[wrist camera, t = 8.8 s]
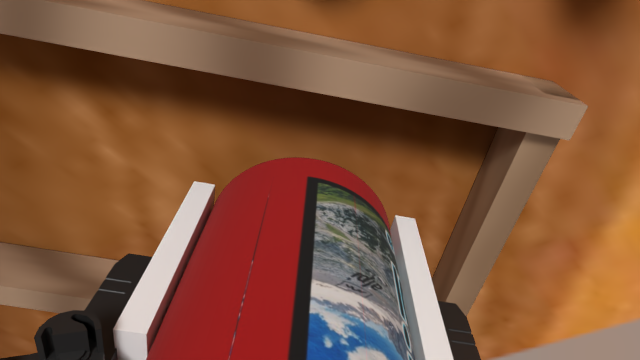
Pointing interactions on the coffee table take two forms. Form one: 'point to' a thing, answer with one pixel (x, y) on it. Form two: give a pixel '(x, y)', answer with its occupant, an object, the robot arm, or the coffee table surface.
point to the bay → (314, 76)
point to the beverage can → (290, 273)
